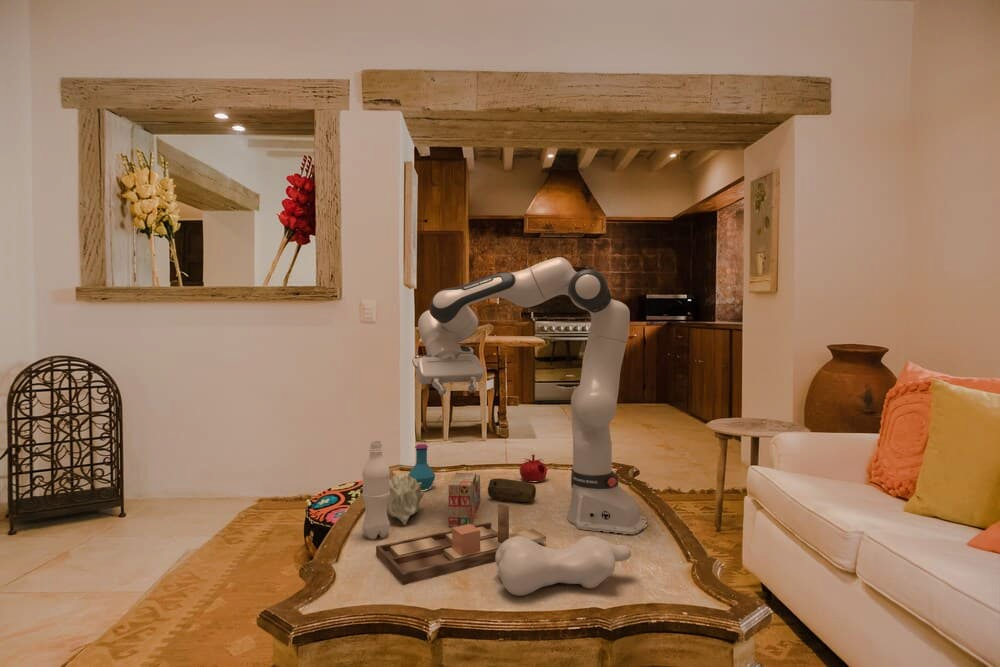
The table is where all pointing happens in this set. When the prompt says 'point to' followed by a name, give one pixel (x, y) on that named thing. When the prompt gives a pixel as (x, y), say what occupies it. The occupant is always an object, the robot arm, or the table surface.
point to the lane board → (431, 558)
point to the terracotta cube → (466, 539)
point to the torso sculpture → (556, 563)
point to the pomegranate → (533, 470)
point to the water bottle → (376, 493)
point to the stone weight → (511, 490)
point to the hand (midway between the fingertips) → (458, 391)
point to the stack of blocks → (463, 499)
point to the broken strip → (427, 544)
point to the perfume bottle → (422, 468)
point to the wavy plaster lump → (404, 497)
